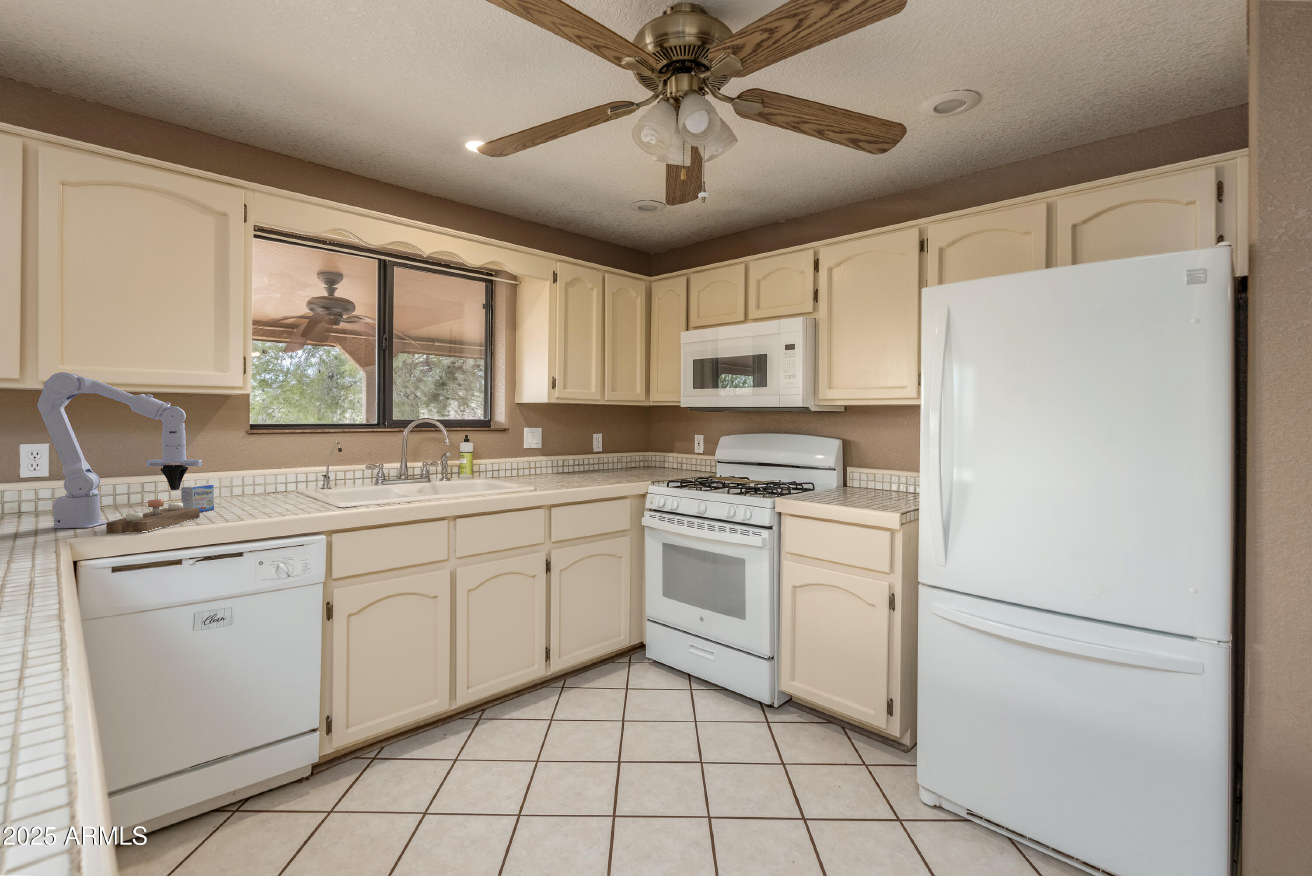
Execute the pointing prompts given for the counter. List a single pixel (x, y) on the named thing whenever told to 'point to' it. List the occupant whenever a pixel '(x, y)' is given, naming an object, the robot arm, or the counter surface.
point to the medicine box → (198, 497)
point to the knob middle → (156, 505)
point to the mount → (153, 520)
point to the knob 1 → (134, 516)
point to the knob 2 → (175, 506)
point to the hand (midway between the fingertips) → (175, 489)
